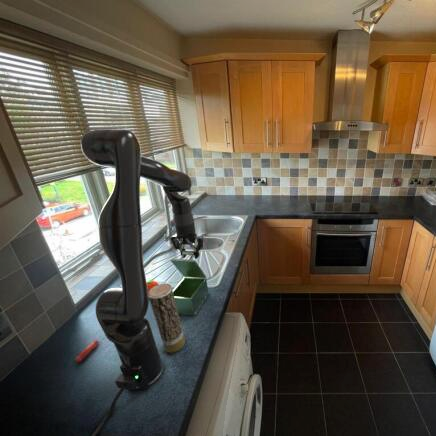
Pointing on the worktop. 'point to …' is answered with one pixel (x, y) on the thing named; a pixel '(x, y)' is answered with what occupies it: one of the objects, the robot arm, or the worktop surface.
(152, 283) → the tomato
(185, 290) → the box
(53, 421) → the worktop surface
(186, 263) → the lid
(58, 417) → the worktop surface
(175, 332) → the brown textured cylinder
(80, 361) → the red rounded rod
